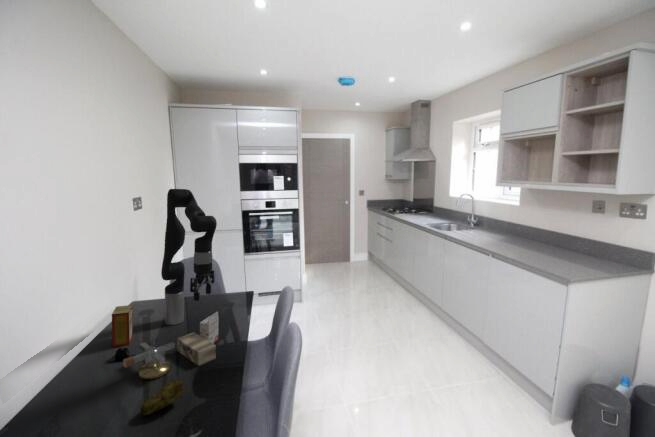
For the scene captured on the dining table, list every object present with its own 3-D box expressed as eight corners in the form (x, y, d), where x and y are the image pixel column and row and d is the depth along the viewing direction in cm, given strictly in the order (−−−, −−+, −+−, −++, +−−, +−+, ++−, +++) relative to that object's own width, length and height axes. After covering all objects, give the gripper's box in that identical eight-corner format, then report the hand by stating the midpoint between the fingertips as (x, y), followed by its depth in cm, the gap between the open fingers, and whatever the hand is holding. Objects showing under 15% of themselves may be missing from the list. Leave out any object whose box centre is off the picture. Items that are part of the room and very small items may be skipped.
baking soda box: (129, 344, 141) (128, 311, 140) (112, 347, 139) (111, 313, 137) (132, 335, 150) (132, 304, 148) (116, 337, 147) (116, 305, 145)
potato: (142, 404, 104) (142, 382, 104) (184, 395, 110) (184, 374, 109) (139, 421, 97) (139, 398, 96) (184, 410, 102) (184, 388, 102)
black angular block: (141, 354, 135) (141, 344, 135) (134, 363, 128) (134, 353, 127) (109, 356, 132) (109, 346, 132) (101, 366, 125) (101, 355, 125)
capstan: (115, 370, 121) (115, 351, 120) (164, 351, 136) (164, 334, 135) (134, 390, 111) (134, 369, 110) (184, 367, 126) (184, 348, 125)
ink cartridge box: (209, 337, 151) (210, 309, 150) (218, 339, 150) (219, 310, 149) (199, 346, 143) (199, 316, 141) (208, 348, 142) (208, 318, 140)
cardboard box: (174, 351, 137) (174, 339, 137) (193, 344, 145) (194, 332, 144) (196, 367, 127) (196, 353, 126) (215, 358, 134) (215, 345, 133)
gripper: (205, 256, 139) (204, 290, 141) (184, 264, 125) (184, 301, 127) (219, 258, 138) (219, 292, 139) (200, 266, 124) (200, 304, 126)
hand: (202, 297), depth 133 cm, fingers open, 8 cm apart
